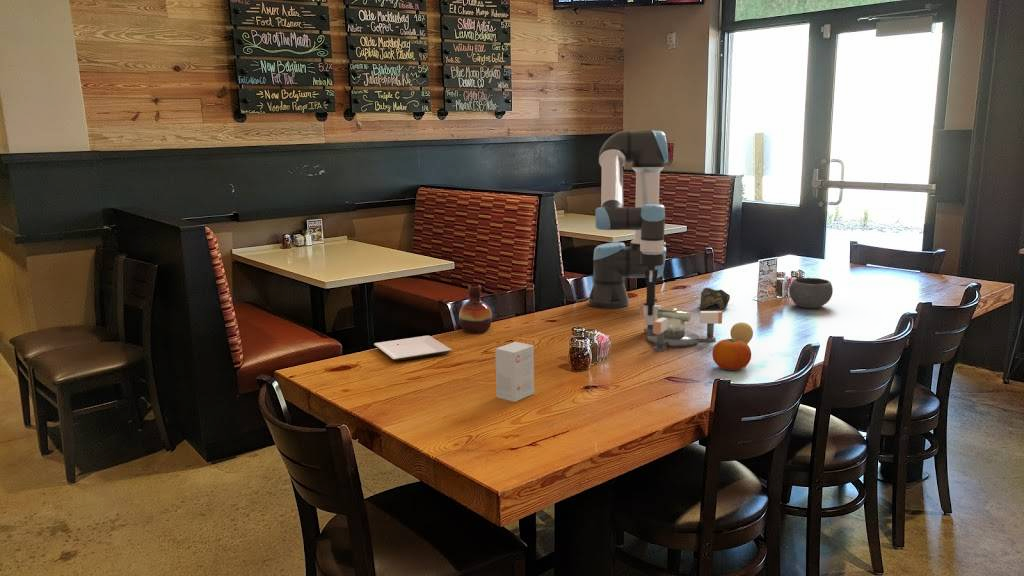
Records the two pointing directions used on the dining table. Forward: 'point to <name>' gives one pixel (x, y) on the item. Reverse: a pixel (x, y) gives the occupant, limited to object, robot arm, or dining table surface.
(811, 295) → the bowl
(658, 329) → the knob
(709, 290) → the fossil
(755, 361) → the dining table surface
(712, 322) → the knob
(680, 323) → the tribrach
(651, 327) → the knob
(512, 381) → the small box
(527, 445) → the dining table surface
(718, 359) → the fruit
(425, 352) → the plate
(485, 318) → the vase
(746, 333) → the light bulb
